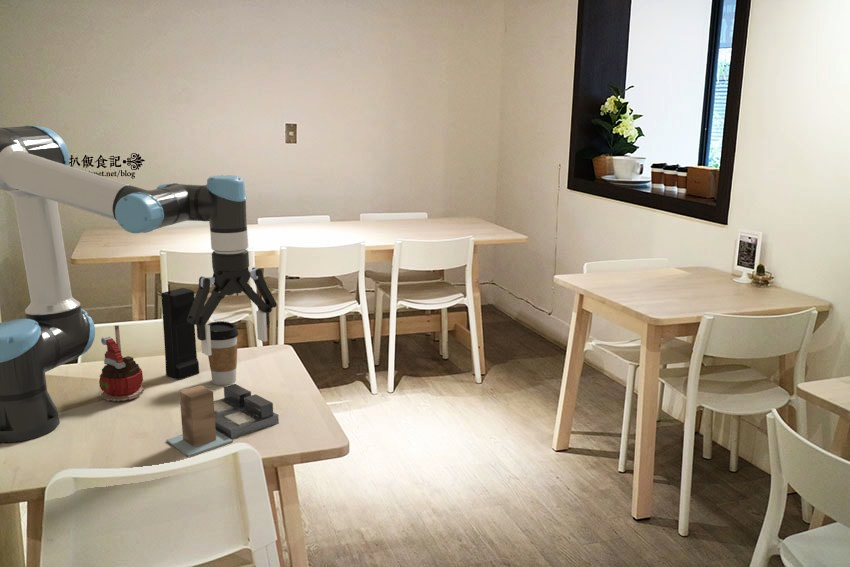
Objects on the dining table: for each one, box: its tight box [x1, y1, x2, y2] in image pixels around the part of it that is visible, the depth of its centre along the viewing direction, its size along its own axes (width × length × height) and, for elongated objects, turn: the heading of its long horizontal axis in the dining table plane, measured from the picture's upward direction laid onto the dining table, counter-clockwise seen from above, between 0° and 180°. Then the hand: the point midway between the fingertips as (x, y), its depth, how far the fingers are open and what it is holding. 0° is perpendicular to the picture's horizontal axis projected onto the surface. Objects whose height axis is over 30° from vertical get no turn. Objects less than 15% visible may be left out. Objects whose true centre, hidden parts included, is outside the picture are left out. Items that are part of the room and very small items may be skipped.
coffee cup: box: [207, 320, 239, 386], centre depth 195 cm, size 8×8×15 cm
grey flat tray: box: [214, 383, 280, 440], centre depth 174 cm, size 17×12×5 cm
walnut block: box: [178, 384, 216, 447], centre depth 162 cm, size 5×5×11 cm
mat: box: [166, 430, 234, 458], centre depth 163 cm, size 10×10×1 cm
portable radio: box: [160, 284, 200, 380], centre depth 199 cm, size 8×6×25 cm
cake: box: [98, 324, 145, 402], centre depth 185 cm, size 11×9×18 cm
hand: (235, 347), depth 166 cm, fingers open, 13 cm apart
